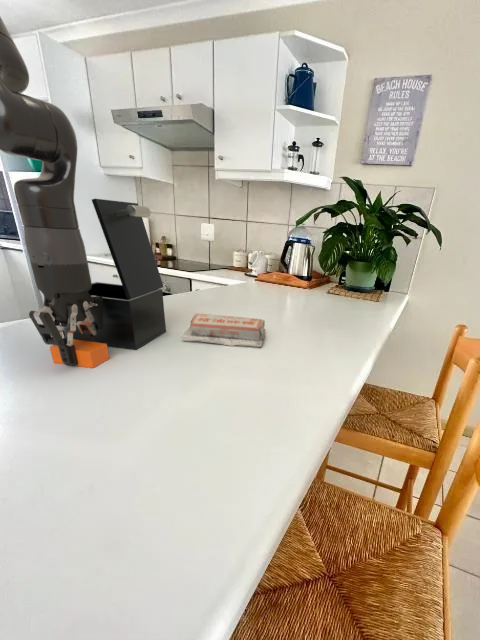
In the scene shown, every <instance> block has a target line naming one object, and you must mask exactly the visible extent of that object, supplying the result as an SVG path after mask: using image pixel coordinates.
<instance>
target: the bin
mask: <svg viewBox="0 0 480 640" xmlns="http://www.w3.org/2000/svg"><path fill="white" fill-rule="evenodd" d="M91 283H92V288H91V289H90V290H89V291H88V292H89V294H90V295H92V296H101V297H102V298H103V327H102V329H98V330H97V334H96V335H95V336H96V341H97V342H98V343H105V344H107V347H110V348H111V347H112V348H118V349H127V350H133V351H137V350H139V349H140V348H142V347H143V346H145V345H147V344H149V343H151V342H152V341H154V340H156V339H158V338H159V337H160V336H162V335H163V334H165V333H166V332H167V324H166V315H165V305H164V303H165V302H164V294H163V293H164V292H163V289H162V288H160V289H157V290H154V291H151V292H148V293H145V294H142V295H139V296H136V297H134V298H130V299H127V297H126V294H125V291H124V288H123V286H122V284H118V283H109V282H100V281H95V282H91ZM93 318H94V320H95V322H96V315H93ZM60 324H61V323H60ZM67 325H68V324H61V326H67ZM85 326H86V325H85ZM81 335H83V334H82V333H81V332H80V330H79V328H78V326H77V325H76V331H75V332H74V333H73V339H75V340H82V339H81ZM62 336H63V338H65V332H64V331H63V332H62Z"/></svg>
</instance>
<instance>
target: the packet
mask: <svg viewBox="0 0 480 640" xmlns="http://www.w3.org/2000/svg"><path fill="white" fill-rule="evenodd" d="M73 345H75V351H76V355H77V360H78V364H77V365H75V366H76V367H83V368H89V369H94V368H96V367H98V366H99V365H101V364H103V363H104V362H106V361H108V360H110V354H109V349H108V346H107V344H105V343H98V342H90V341H83V340H75V339H73ZM49 351H50V354H51V358H52V362H53V363H54V364H61V365H65V364H64V363H63V361H62V359H61V355H60V351H59V347H58V346H57V345H50V346H49ZM75 366H74V367H75Z"/></svg>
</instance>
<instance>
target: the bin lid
mask: <svg viewBox="0 0 480 640" xmlns="http://www.w3.org/2000/svg"><path fill="white" fill-rule="evenodd" d="M91 203H92V205H93V209H94V212H95V214H96V216H97V219H98V222H99V224H100V228H101V231H102V233H103V236H104V238H105V241H106V244H107V247H108V250H109V253H110V255H111V259H112V261H113V263H114V266H115V269H116V272H117V275H118V278H119V280H120V284H121V285H122V286H123V288H124V291H125V294H126V297H127V299H130V298H134V297H136V296H139V295H142V294H145V293H148V292H151V291H154V290H157V289H162V288H164V283H163V281H162V277H161V274H160V270H159V268H158V264H157V261H156V258H155V254H154V251H153V248H152V245H151V241H150V238H149V234H148V232H147V228H146V226H145V223H144V219H143V218H149V217H150V216H151V210H150V208H149V207H148V206H143V205H139V203H137V202H136V203H135V202H129V201H119V200H112V199H103V198H102V199H101V198H93V199H91Z"/></svg>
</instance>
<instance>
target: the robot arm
mask: <svg viewBox="0 0 480 640" xmlns="http://www.w3.org/2000/svg"><path fill="white" fill-rule="evenodd" d="M29 84H30V74H29V70H28V67H27V64H26V62H25V60H24V58H23V56H22V54H21V52H20V50H19V49H18V47H17V45H16V43H15V41H14V39H13V37H12V36H11V33H10V32H9V30H8V28H7V26H6V24H5V23H4V21H3V19H2V17H1V16H0V151H1V152H3V153H4V154H7V155H10V156H13V157H18V158H23V159H30V160H35V161H41V162H42V165H41V171H40V174H39V176H38V177H33V178H21V179H19V180H16V181H15V182H14V184H13V191H14V197H15V200H16V204H17V209H18V212H19V217H20V220H21V224H22V227H23V234H24V241H25V248H26V250H27V255H28V258H29V262H30V266H31V269H32V274H33V278H34V281H35V285H36V289H37V290H38V291H40V292H41V293H42V294H43V297H44V298H43V307H41V308H40V309H38V310H30V311H29V313H28V316H29V318H30V320H31V322H32V324H33V325H34V327H35V328H36V330H37V332H38V333H39V336H40V337H41V339H42V341H43V343H44V344H45V345H50V346H52V345H57V346H58V347H59V351H60V355H61V359H62V361H63V363H64V364H63V365H65V366H70V367H75V365H77V364H78V360H77V355H76V351H75V345H73V333H74V332H75V331H76V325H77V326H78V328H79V330H80V332H81V333H82V334H83V335H81V339H82V340H83V341H90V342H97V341H96V336H95V335H96V334H97V330H98V329H102V327H103V298H102V297H101V296H92V295H90V294H89V292H88V291H89V290H90V289H91V288H92V283H93V282H92V278H91V273H90V272H91V271H90V268H89V261H88V256H87V251H86V246H85V243H84V239H83V237H82V233H81V229H80V224H79V220H78V219H79V218H78V215H77V209H76V204H75V188H76V187H75V186H76V171H77V162H78V139H77V135H76V131H75V129H74V126H73V125H72V122H71V120H70V119H69V117H68V116H67V115H66V113H65V112H64V111H63V110H62V109H61V108H60V107H58V106H57V105H56V104H53V103H52V102H48V101H45V100H43V99H39V98H35V97H32V96H30V95H27V94H24V92H25V91H26V90H27V89H28V87H29ZM93 315H96V322H95V320H94V318H93ZM61 324H68V325H67V326H61ZM85 325H86V326H85ZM63 331H64V332H65V338H64V337H63Z"/></svg>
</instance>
